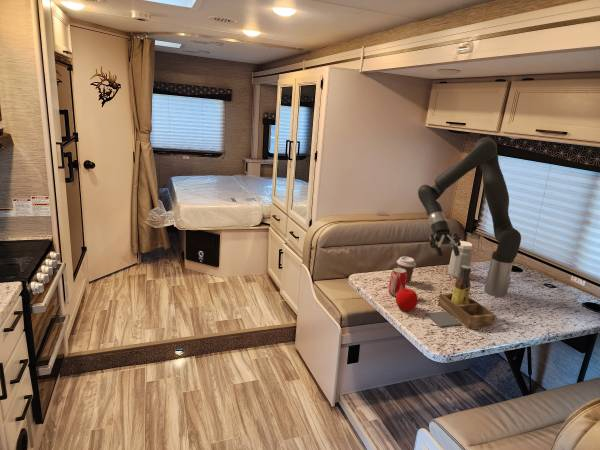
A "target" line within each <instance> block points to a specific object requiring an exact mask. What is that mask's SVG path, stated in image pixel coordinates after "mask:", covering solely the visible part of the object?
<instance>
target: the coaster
mask: <svg viewBox="0 0 600 450" xmlns="http://www.w3.org/2000/svg"><path fill="white" fill-rule="evenodd" d="M424 315H425V316H426V317H428V319H430V320H431V321H432V322H433V323H434V324H436V326H437V327H439V328H446V327H447V328H448V327H456V326H461V325H462V323H460V322H459V321H458V320H457V319H455V318H454V317H453V316H452V315H450V314H449V313H448V312H447V311H445V310H443V311H436V312H425V314H424Z"/></svg>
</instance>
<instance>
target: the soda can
mask: <svg viewBox="0 0 600 450" xmlns="http://www.w3.org/2000/svg"><path fill="white" fill-rule="evenodd" d="M392 269H393V270H392V271H391V273H390V278H389V285H388V293H389V294H390V295H391V296H392V297H396V295H397V293H398V292H399V291H400V290H401V289H406V287H407V286H406V285H407V284H406V279H407V273H406V270H405V269H403V268H398V267H394V268H392Z"/></svg>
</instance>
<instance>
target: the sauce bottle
mask: <svg viewBox="0 0 600 450" xmlns="http://www.w3.org/2000/svg"><path fill="white" fill-rule="evenodd" d="M471 272H472V267H471V266H470V267H469V266H466V265H462V266H461V272H460V276H459V277H458V278H455V282H454V286H453V291H452V293H453V295H452V299H451V301H452V302H453V303H454V304H456V305H463V304H467V300H468V296H469V295H470V291H471V286H472V285H471V281H470V275H471ZM469 297H470V296H469Z"/></svg>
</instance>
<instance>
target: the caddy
mask: <svg viewBox="0 0 600 450" xmlns="http://www.w3.org/2000/svg"><path fill="white" fill-rule="evenodd" d="M452 295H453V292H450V293H440V294H439V297H438V302H437V305H438V306H439V307H440V308H441V309H443V311H446V312H448V313H449V314H450V315H451V316H453V317H454V318H455V319H456V320H458V321H459V322H460V323H461V325H463V326H464V327H465V328H466V329H480V328H488V327H494V325H495V320H496V316H497V315H496V314H495V313H494V312H492V311H491V310H489V309H487V308H486V307H485V306H483V305H482V304H481V303H479V302H477V300H475V299H473V298H472V297H470V296H468V300H467V304H463V305H456V304H454V303H453V302H452V301H451V299H452Z"/></svg>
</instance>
